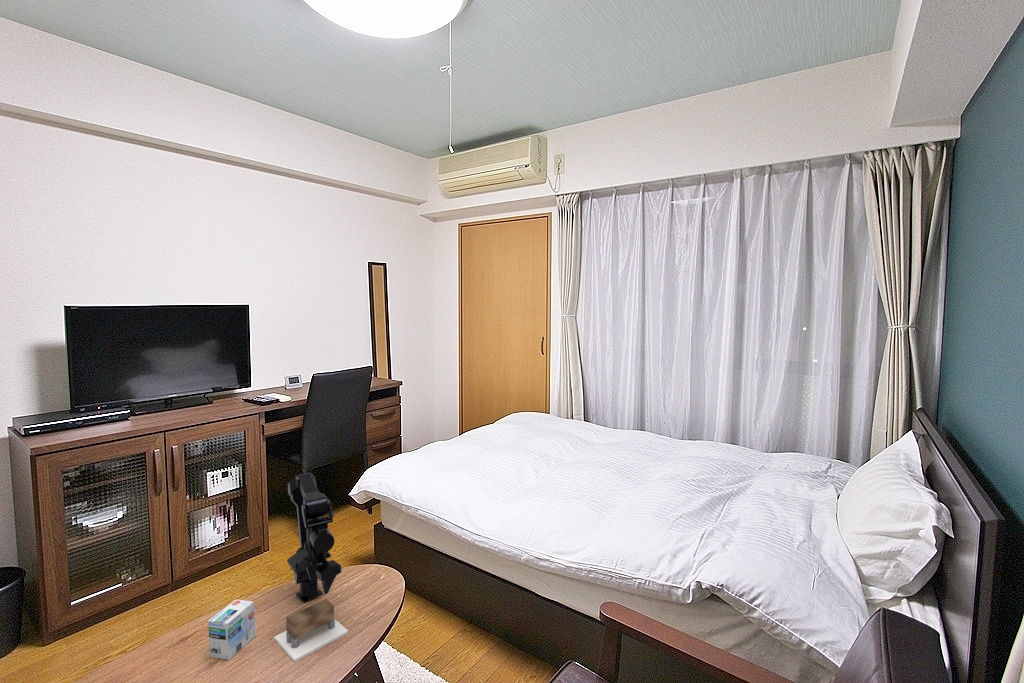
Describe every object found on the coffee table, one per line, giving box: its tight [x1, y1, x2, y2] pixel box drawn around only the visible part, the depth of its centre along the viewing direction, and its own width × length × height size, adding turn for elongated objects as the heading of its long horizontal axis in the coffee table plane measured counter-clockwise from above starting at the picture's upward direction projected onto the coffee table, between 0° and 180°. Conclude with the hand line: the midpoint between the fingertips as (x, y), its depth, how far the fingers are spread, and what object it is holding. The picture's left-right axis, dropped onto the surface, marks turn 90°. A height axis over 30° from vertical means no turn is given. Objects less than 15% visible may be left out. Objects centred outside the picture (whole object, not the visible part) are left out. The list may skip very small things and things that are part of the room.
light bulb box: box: [207, 598, 257, 661], centre depth 140 cm, size 11×7×11 cm, turn 168°
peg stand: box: [273, 617, 349, 663], centre depth 144 cm, size 14×16×3 cm
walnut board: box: [286, 598, 335, 640], centre depth 143 cm, size 12×5×4 cm, turn 138°
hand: (319, 587), depth 148 cm, fingers open, 9 cm apart
